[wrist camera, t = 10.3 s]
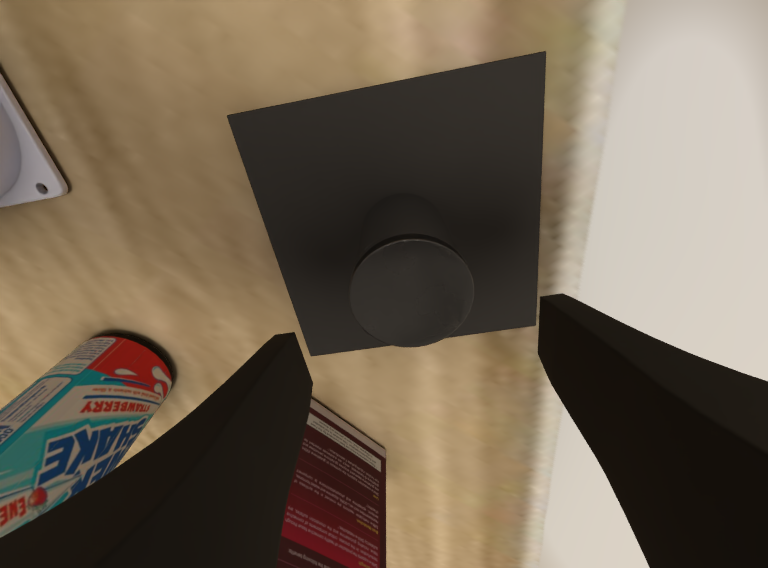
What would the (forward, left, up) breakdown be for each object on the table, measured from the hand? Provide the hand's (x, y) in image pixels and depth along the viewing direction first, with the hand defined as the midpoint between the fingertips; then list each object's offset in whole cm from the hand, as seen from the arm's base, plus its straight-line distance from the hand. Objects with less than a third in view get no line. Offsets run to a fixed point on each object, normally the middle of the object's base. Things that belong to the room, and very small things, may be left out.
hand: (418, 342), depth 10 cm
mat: (0, 0, -9) cm, 9 cm away
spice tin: (0, 0, -9) cm, 9 cm away
